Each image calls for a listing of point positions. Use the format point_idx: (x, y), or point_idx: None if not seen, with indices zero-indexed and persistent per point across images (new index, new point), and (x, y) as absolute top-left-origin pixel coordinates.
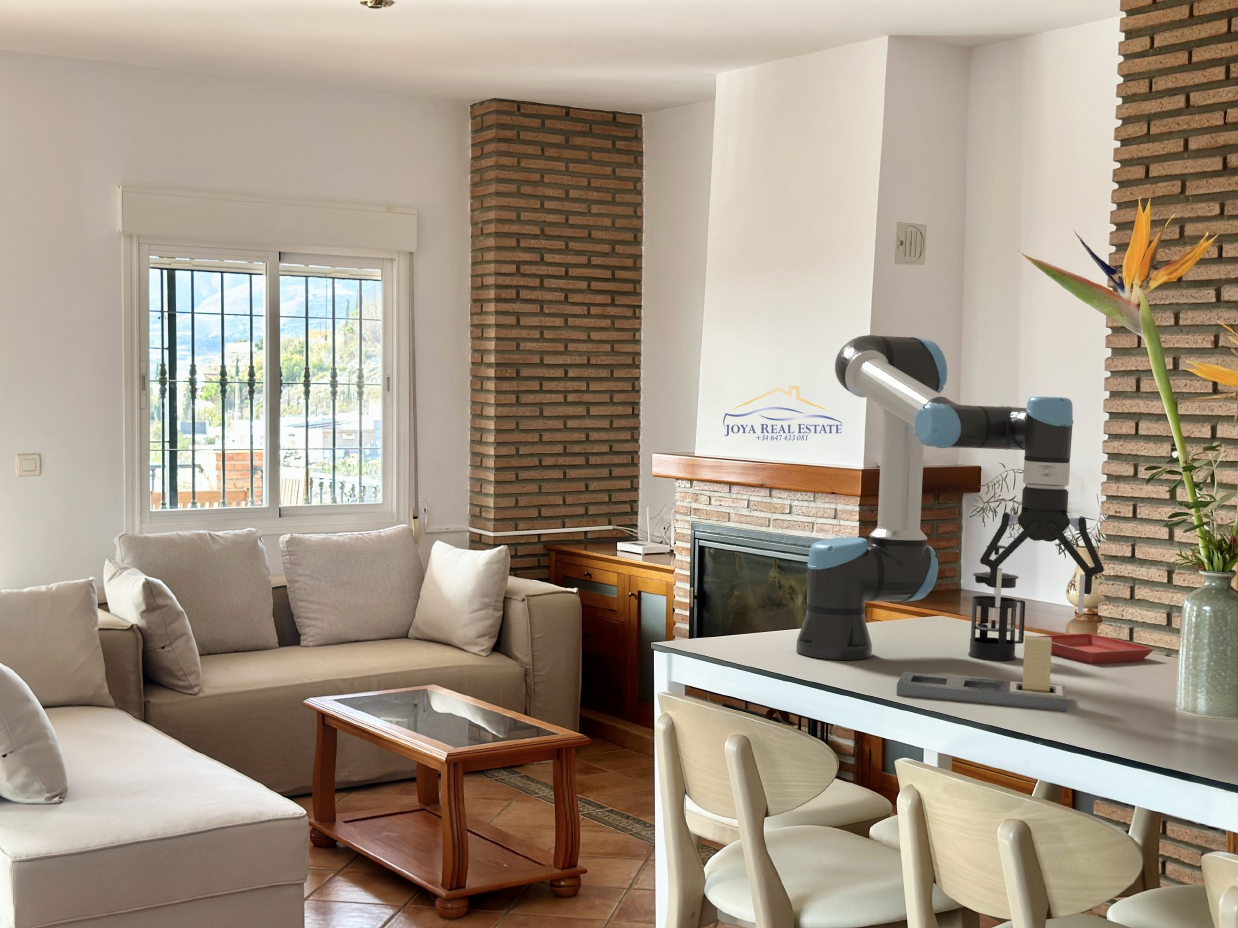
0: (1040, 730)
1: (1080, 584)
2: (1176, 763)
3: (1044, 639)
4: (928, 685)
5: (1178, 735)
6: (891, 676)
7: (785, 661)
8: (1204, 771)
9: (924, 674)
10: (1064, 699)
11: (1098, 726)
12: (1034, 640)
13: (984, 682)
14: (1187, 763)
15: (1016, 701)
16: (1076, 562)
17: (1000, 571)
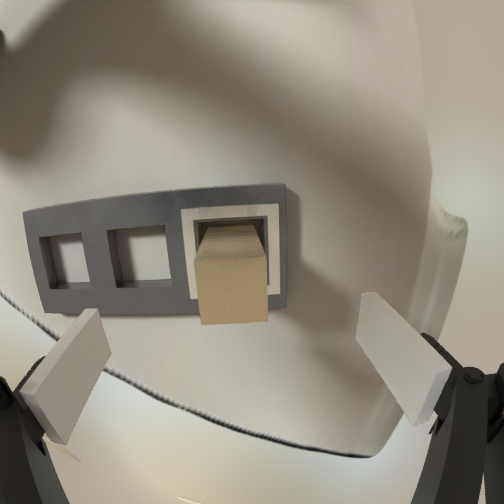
0: (250, 410)
1: (399, 401)
2: (360, 441)
3: (249, 304)
4: (76, 305)
5: None
6: (15, 170)
7: None
8: (372, 445)
9: (47, 216)
10: (282, 307)
11: (318, 364)
12: (225, 323)
13: (137, 226)
14: (368, 436)
15: None
16: (421, 473)
17: (64, 439)
